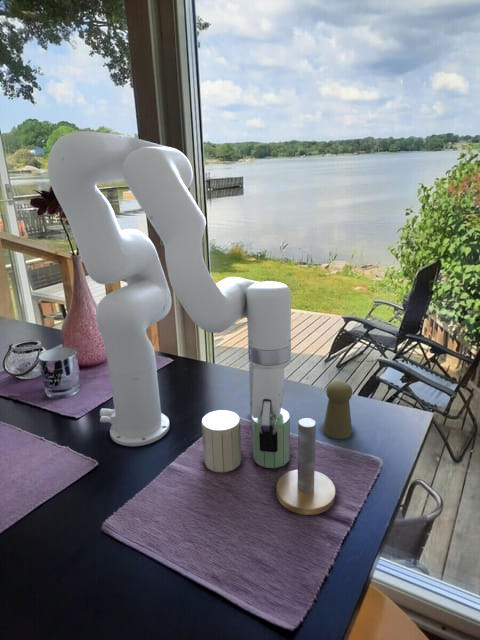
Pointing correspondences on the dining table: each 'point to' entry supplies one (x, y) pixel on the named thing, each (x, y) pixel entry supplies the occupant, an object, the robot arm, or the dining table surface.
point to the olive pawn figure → (338, 410)
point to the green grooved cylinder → (283, 438)
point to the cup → (221, 440)
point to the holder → (306, 478)
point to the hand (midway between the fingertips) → (270, 437)
